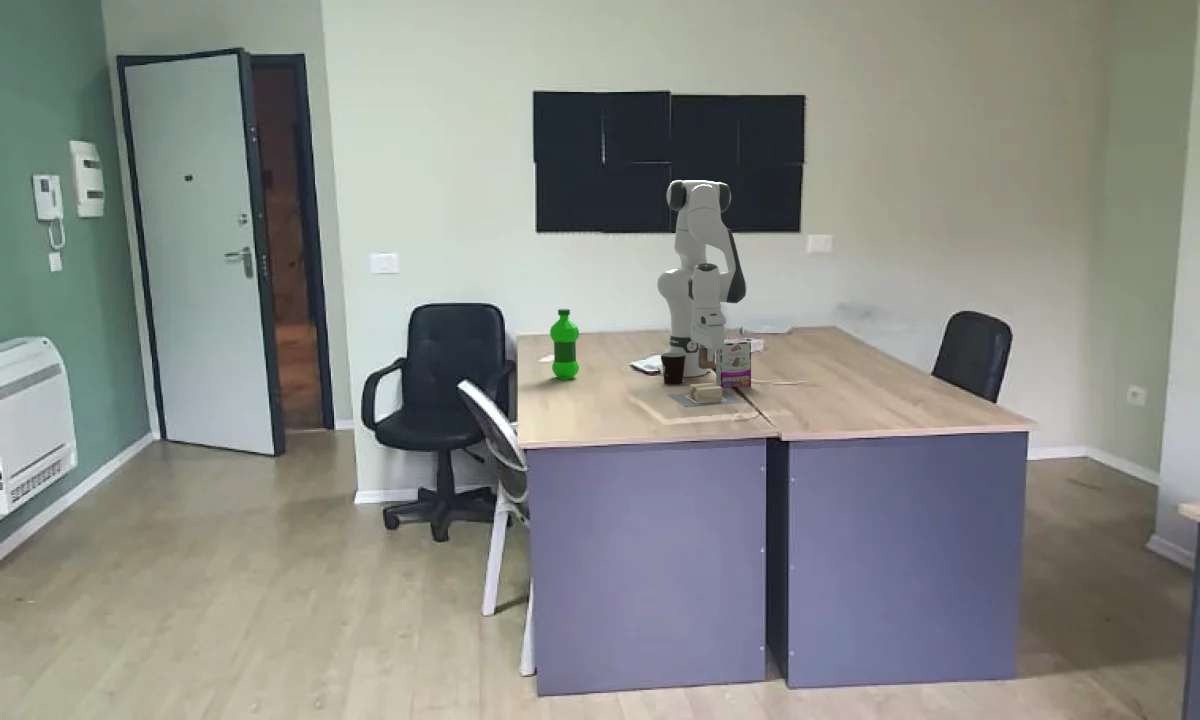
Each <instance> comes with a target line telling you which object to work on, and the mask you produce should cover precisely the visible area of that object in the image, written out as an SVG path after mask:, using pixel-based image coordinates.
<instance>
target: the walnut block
mask: <svg viewBox="0 0 1200 720" xmlns="http://www.w3.org/2000/svg"><path fill="white" fill-rule="evenodd" d="M707 354H708V351H707V347H706V348H698V367H699V368H702V369H711V370H712V369H716V351H715V352H714V356H713V361H707V360H706V355H707Z"/></svg>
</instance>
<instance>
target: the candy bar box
mask: <svg viewBox="0 0 1200 720" xmlns="http://www.w3.org/2000/svg"><path fill="white" fill-rule="evenodd" d="M715 384H716V385H718V386H720V387H722V388H733V387H744V386H745V387H746V386H748V387H749V388H752V341H749V340H747V339H742V340H741V339H740V340H739V339H738V340H726V341H725V340H724V347H723V349H720V350H715Z"/></svg>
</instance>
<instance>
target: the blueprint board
mask: <svg viewBox="0 0 1200 720" xmlns="http://www.w3.org/2000/svg"><path fill="white" fill-rule="evenodd" d="M667 396H668V397H669V398H671V399H672V400H674V401H676V402H677V403H678V404H679V405H681V406H683V407H684V408H694V407H695V408H696V407H707V406H717V405H718V406H719V405H732V404H743V403H744V404H745V403H747V402H746V401H744V399H741V398H739V397H738V396H735V395H734V394H731V392H728V391H726V390H725V389H724V390H723V389H722V400H719V401H707V402H697V401H696V400H694V399H692V398H691V397H690V392H686V393H685V392H683V393H673V394H667Z"/></svg>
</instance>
